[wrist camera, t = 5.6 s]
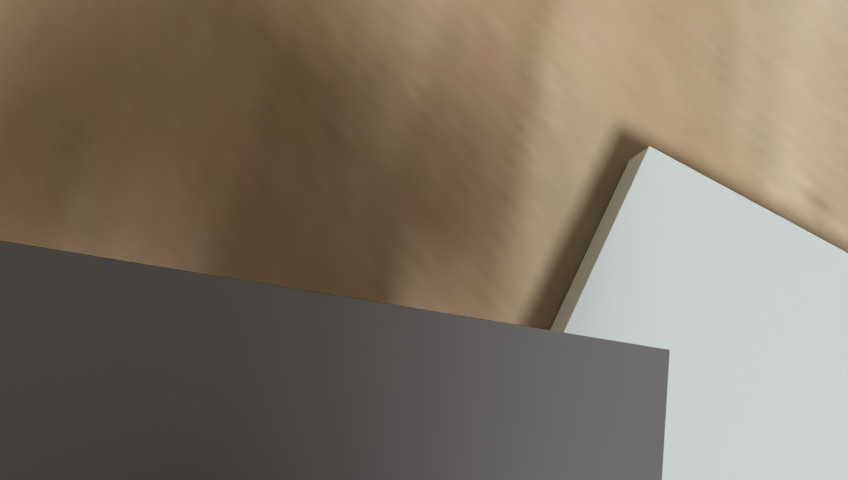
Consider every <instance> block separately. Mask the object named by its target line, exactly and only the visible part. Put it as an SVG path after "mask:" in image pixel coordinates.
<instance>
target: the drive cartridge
mask: <svg viewBox="0 0 848 480" xmlns="http://www.w3.org/2000/svg"><path fill="white" fill-rule="evenodd" d="M669 354H670V350H668V349H661V348H655V347H649V346H643V345H637V344H631V343H625V342H619V341H612V340H606V339H600V338H594V337H588V336H582V335H576V334H569V333H563V332H557V331H551V330H545V329H539V328H533V327H527V326H520V325H514V324H508V323H502V322H496V321H490V320H484V319H477V318H471V317H465V316H459V315H453V314H447V313H441V312H435V311H428V310H422V309H416V308H410V307H404V306H398V305H392V304H386V303H379V302H373V301H367V300H361V299H355V298H349V297H343V296H336V295H330V294H324V293H318V292H312V291H306V290H300V289H294V288H287V287H281V286H275V285H269V284H263V283H257V282H251V281H244V280H238V279H232V278H226V277H220V276H214V275H208V274H202V273H195V272H189V271H183V270H177V269H171V268H165V267H159V266H152V265H146V264H140V263H134V262H128V261H122V260H116V259H110V258H103V257H97V256H91V255H85V254H79V253H73V252H67V251H61V250H54V249H48V248H42V247H36V246H30V245H24V244H18V243H11V242H5V241H0V480H662V469H663V452H664V436H665V419H666V403H667V387H668V370H669Z"/></svg>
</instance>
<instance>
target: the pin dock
mask: <svg viewBox="0 0 848 480" xmlns="http://www.w3.org/2000/svg"><path fill="white" fill-rule="evenodd" d="M550 330H551V331H557V332H563V333H569V334H576V335H582V336H588V337H594V338H600V339H606V340H612V341H619V342H625V343H631V344H637V345H643V346H649V347H655V348H661V349H668V350H670V354H669V370H668V387H667V403H666V419H665V436H664V452H663V469H662V480H848V253H847V252H845V251H843V250H841V249H839V248H837V247H836V246H834V245H832V244H830V243H828V242H826V241H824V240H823V239H821V238H819V237H817V236H815V235H813V234H811V233H810V232H808V231H806V230H804V229H802V228H800V227H799V226H797V225H795V224H793V223H791V222H789V221H787V220H786V219H784V218H782V217H780V216H778V215H776V214H774V213H773V212H771V211H769V210H767V209H765V208H763V207H761V206H760V205H758V204H756V203H754V202H752V201H750V200H749V199H747V198H745V197H743V196H741V195H739V194H737V193H736V192H734V191H732V190H730V189H728V188H726V187H724V186H723V185H721V184H719V183H717V182H715V181H713V180H711V179H710V178H708V177H706V176H704V175H702V174H700V173H699V172H697V171H695V170H693V169H691V168H689V167H687V166H686V165H684V164H682V163H680V162H678V161H676V160H674V159H673V158H671V157H669V156H667V155H665V154H663V153H661V152H660V151H658V150H656V149H654V148H652V147H650V146H649V147H647V148H646V149H644V150H643V151H642V152H640V153H639V154H638V155H636V156H635V157H634V158H632V159H631V160H629V162H628V164H627V166H626V168H625V170H624V172H623V174H622V177H621V179H620V181H619V183H618V185H617V187H616V189H615V192H614V194H613V196H612V198H611V200H610V202H609V205H608V207H607V209H606V211H605V213H604V215H603V217H602V220H601V222H600V224H599V226H598V228H597V230H596V232H595V235H594V237H593V239H592V241H591V243H590V245H589V247H588V250H587V252H586V254H585V256H584V258H583V260H582V262H581V265H580V267H579V269H578V271H577V273H576V275H575V278H574V280H573V282H572V284H571V286H570V288H569V290H568V293H567V295H566V297H565V299H564V301H563V303H562V305H561V308H560V310H559V312H558V314H557V316H556V318H555V320H554V323H553V325H552V327H551V329H550Z"/></svg>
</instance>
